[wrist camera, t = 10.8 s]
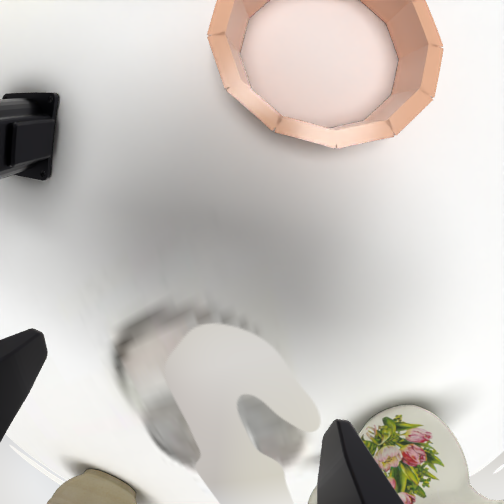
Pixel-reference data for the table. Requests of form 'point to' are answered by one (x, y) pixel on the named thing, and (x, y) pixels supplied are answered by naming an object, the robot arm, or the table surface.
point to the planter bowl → (94, 490)
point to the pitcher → (419, 457)
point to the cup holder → (385, 116)
